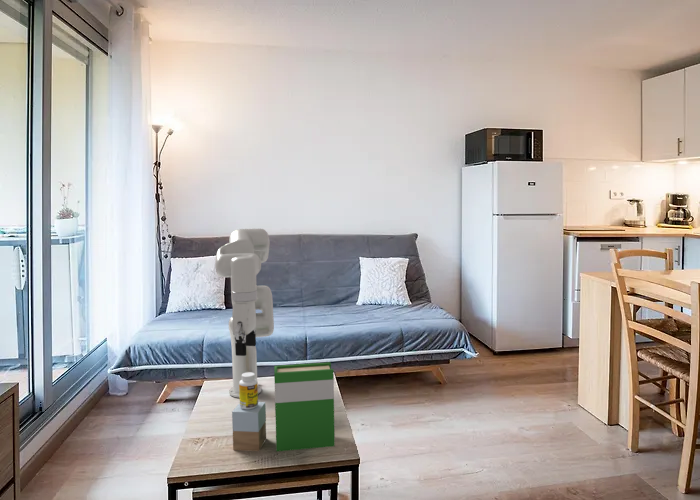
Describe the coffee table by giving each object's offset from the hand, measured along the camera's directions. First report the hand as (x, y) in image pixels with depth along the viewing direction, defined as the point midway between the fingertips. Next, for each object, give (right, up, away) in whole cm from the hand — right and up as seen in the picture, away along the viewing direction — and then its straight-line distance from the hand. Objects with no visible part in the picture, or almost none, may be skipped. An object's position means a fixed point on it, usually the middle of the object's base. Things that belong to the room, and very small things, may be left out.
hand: (246, 350), depth 151 cm
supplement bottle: (+1, -17, -2) cm, 17 cm away
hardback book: (+18, -29, -1) cm, 34 cm away
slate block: (+1, -23, -1) cm, 23 cm away
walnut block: (+1, -29, -1) cm, 29 cm away
